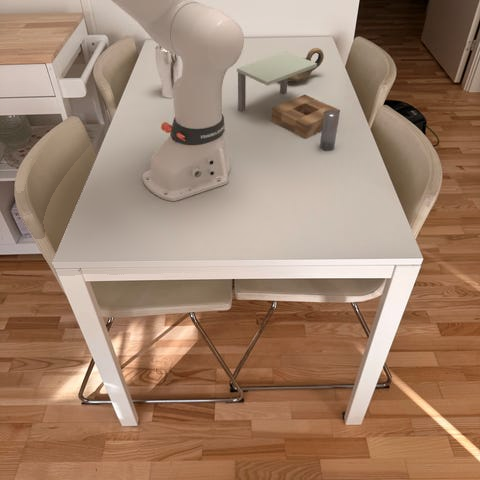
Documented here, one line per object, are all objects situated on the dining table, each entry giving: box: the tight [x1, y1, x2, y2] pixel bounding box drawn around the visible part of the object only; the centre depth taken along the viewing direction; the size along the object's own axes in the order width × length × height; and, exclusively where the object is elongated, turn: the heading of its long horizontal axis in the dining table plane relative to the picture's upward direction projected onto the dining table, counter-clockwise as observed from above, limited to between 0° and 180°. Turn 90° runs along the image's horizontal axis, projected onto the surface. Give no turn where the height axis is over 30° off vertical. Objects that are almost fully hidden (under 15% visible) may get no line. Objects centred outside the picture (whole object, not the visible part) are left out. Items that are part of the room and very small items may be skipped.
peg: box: [319, 110, 340, 152], centre depth 121 cm, size 4×4×10 cm
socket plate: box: [270, 94, 341, 139], centre depth 134 cm, size 14×14×4 cm
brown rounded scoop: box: [287, 47, 325, 82], centre depth 155 cm, size 14×18×10 cm
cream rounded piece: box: [154, 44, 180, 99], centre depth 144 cm, size 7×7×15 cm
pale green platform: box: [236, 51, 318, 113], centre depth 138 cm, size 20×13×13 cm, turn 131°
